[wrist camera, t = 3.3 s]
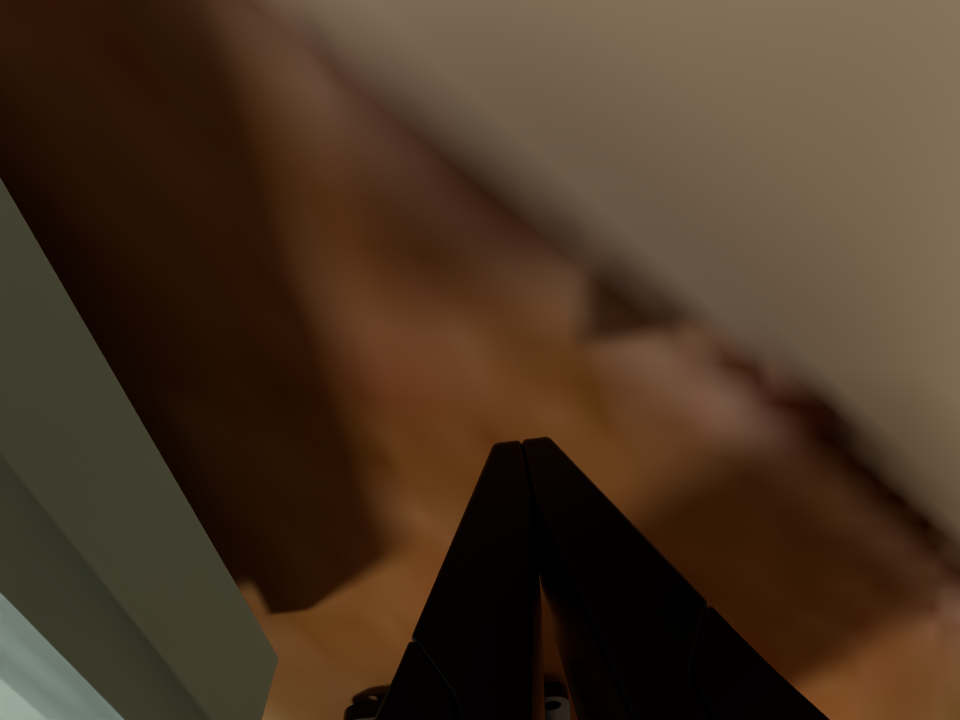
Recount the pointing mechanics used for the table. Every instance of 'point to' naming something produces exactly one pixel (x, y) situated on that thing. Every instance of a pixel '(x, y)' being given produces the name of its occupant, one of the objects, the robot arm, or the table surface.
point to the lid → (101, 535)
